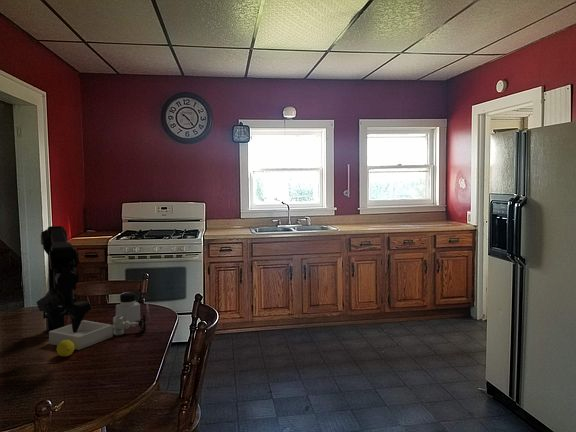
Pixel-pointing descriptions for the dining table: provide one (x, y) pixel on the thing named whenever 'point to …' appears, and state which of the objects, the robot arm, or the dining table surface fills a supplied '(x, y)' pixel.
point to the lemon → (65, 348)
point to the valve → (126, 324)
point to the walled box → (82, 334)
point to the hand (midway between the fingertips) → (65, 330)
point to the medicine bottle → (128, 307)
